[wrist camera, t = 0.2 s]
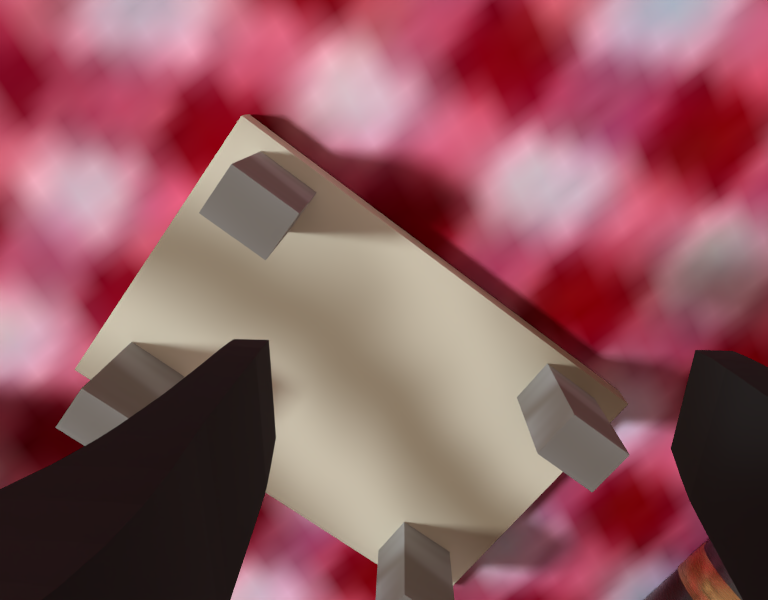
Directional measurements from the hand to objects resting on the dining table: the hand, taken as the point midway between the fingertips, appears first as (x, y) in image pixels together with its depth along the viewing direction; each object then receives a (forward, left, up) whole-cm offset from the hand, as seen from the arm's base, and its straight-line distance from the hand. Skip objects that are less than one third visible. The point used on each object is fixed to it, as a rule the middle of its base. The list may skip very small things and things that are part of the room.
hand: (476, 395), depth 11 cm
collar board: (-5, 0, -10) cm, 12 cm away
